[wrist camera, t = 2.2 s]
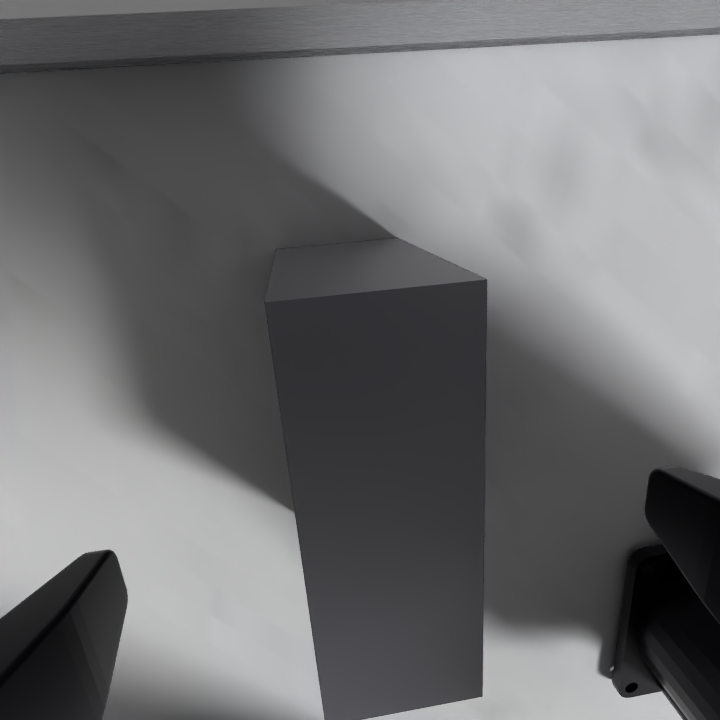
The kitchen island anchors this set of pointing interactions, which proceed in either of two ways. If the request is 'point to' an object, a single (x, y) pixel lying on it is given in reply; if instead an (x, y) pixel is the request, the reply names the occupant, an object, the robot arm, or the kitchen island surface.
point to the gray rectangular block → (385, 467)
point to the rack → (316, 28)
